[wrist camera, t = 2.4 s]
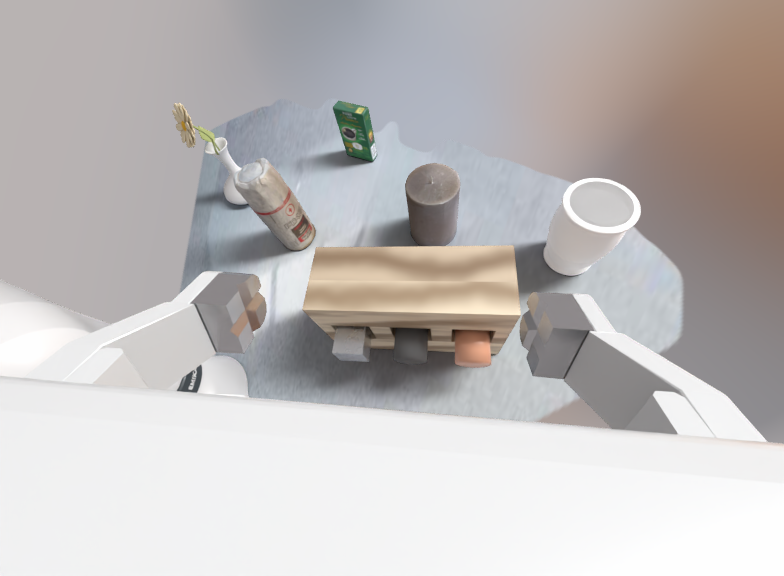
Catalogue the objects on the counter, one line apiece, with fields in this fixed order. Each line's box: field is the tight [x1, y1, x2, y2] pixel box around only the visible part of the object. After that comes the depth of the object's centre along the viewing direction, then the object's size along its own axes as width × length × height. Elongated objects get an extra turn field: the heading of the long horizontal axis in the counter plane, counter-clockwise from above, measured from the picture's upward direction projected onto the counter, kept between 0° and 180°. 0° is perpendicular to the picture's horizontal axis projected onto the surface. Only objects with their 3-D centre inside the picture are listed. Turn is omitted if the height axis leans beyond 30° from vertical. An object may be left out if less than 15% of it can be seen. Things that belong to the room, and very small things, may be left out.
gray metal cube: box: [332, 326, 372, 362], centre depth 50 cm, size 5×5×5 cm
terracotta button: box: [455, 329, 491, 368], centre depth 47 cm, size 5×5×5 cm
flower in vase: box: [172, 103, 248, 205], centre depth 70 cm, size 13×11×25 cm
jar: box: [544, 178, 641, 276], centre depth 54 cm, size 11×10×15 cm
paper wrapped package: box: [233, 158, 316, 250], centre depth 63 cm, size 8×8×20 cm
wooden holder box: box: [302, 246, 521, 354], centre depth 51 cm, size 10×28×18 cm, turn 85°
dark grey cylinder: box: [393, 327, 428, 365], centre depth 48 cm, size 5×5×5 cm
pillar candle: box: [405, 163, 460, 246], centre depth 61 cm, size 10×10×15 cm
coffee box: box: [333, 101, 377, 162], centre depth 75 cm, size 8×3×13 cm, turn 63°
